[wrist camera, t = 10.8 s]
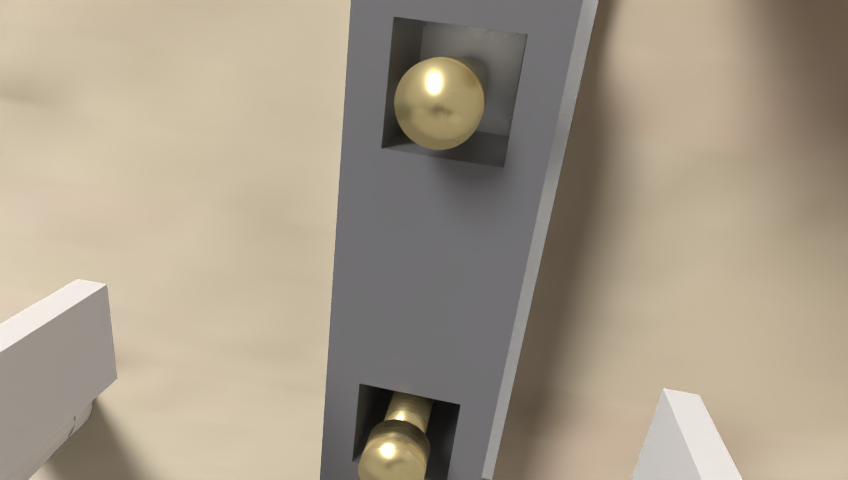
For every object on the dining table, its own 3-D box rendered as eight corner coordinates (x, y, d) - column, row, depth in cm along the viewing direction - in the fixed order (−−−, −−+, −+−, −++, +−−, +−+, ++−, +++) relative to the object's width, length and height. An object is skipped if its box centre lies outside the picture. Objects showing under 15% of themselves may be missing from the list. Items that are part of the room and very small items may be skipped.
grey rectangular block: (479, 442, 26) (467, 547, 20) (354, 415, 26) (313, 510, 21) (576, -35, 18) (597, -59, 13) (397, -56, 19) (349, -87, 13)
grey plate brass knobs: (493, 457, 28) (481, 624, 20) (340, 423, 28) (271, 571, 21) (613, -91, 18) (678, -174, 11) (383, -115, 19) (289, -209, 12)
